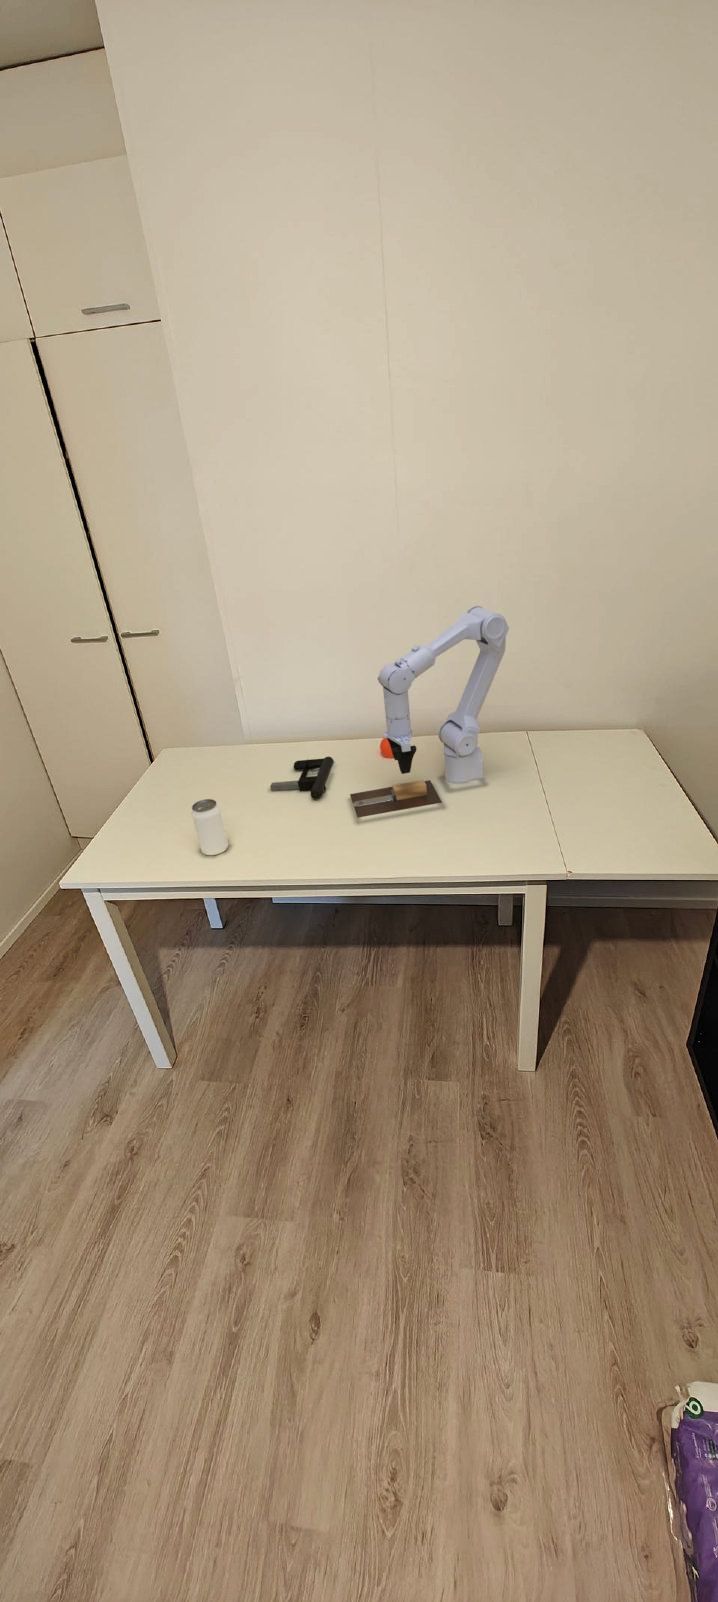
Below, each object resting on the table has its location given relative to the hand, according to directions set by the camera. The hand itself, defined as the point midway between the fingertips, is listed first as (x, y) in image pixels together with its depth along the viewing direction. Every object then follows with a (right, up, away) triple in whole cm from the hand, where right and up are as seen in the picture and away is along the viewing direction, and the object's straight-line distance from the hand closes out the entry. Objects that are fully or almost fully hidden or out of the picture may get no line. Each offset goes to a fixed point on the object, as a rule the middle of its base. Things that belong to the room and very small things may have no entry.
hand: (402, 765), depth 174 cm
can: (-45, -20, -6) cm, 49 cm away
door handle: (-25, -4, +18) cm, 31 cm away
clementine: (-1, +3, +25) cm, 25 cm away
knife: (-3, -8, +2) cm, 9 cm away
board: (-1, -9, +3) cm, 10 cm away
